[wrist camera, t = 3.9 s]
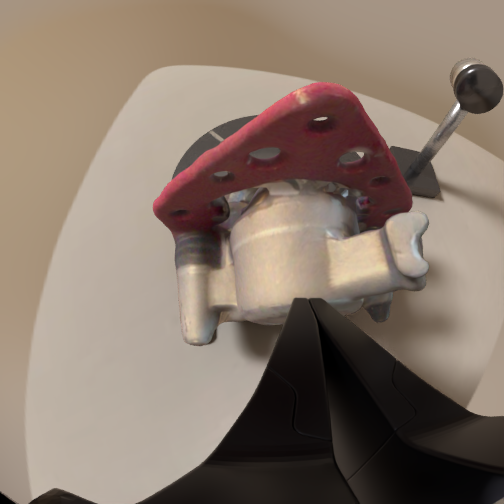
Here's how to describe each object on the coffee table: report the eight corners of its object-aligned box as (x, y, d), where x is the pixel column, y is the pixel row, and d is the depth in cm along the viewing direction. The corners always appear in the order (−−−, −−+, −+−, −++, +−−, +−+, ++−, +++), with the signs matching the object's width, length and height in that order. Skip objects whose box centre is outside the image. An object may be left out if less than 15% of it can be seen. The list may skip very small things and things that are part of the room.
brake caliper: (358, 133, 16) (504, 117, 5) (350, 289, 20) (440, 407, 8) (178, 133, 16) (73, 91, 4) (192, 298, 19) (153, 446, 8)
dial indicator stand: (433, 197, 18) (521, 98, 7) (396, 192, 18) (483, 73, 7) (422, 160, 19) (491, 60, 8) (386, 153, 19) (451, 37, 8)
